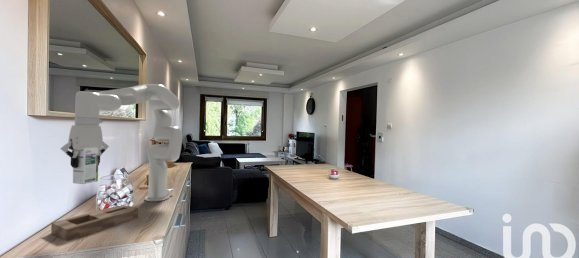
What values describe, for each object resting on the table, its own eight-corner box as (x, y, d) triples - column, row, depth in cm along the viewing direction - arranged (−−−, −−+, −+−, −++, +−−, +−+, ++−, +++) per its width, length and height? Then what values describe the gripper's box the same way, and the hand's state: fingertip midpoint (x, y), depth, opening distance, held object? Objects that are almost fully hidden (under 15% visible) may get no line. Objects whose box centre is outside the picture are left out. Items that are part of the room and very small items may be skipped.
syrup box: (83, 184, 94) (85, 147, 94) (71, 183, 95) (73, 146, 95) (98, 181, 99) (99, 146, 99) (86, 180, 101) (87, 145, 100)
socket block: (51, 233, 93) (51, 223, 93) (122, 212, 116) (122, 204, 116) (67, 240, 88) (67, 229, 88) (137, 217, 111) (138, 208, 111)
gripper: (105, 122, 106) (104, 162, 107) (54, 121, 91) (53, 168, 91) (115, 123, 103) (114, 164, 103) (64, 121, 88) (63, 170, 88)
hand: (85, 165), depth 97 cm, fingers closed on syrup box, 6 cm apart
